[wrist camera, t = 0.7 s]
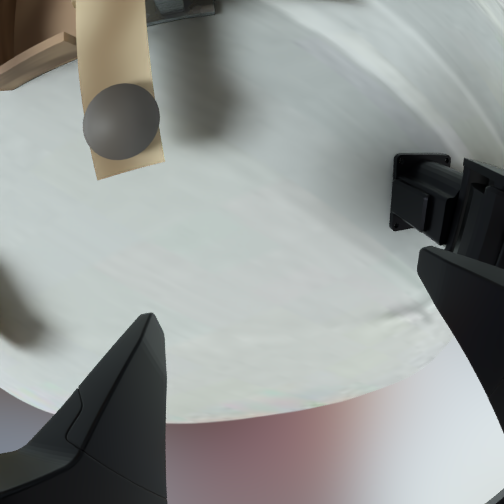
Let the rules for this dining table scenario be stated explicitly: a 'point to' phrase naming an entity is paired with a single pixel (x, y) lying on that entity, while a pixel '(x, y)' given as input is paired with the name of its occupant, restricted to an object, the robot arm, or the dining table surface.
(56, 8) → the tray
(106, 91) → the lever
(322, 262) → the dining table surface
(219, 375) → the dining table surface
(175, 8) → the fulcrum
